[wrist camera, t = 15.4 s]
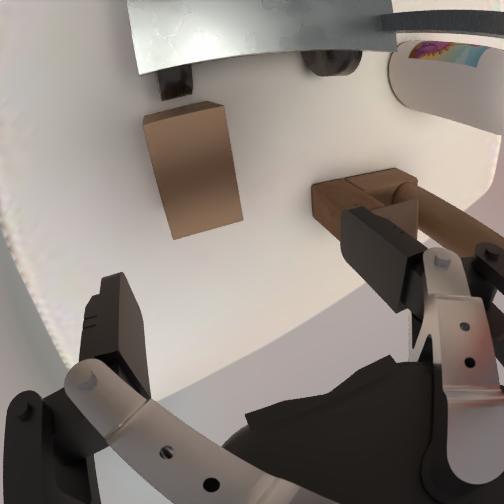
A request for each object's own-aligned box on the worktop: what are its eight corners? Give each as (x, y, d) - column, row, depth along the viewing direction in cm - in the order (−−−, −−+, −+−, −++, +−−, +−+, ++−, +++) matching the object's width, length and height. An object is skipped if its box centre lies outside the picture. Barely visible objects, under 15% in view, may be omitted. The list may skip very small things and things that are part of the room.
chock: (144, 116, 22) (142, 125, 17) (206, 100, 23) (223, 105, 18) (167, 207, 26) (173, 240, 21) (223, 192, 27) (243, 220, 22)
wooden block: (310, 183, 29) (455, 298, 14) (396, 166, 31) (534, 246, 16) (311, 218, 31) (438, 343, 16) (394, 197, 33) (520, 285, 18)
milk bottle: (432, 113, 29) (589, 178, 13) (383, 103, 27) (571, 171, 11) (437, 50, 25) (600, 88, 9) (387, 32, 23) (582, 55, 7)
